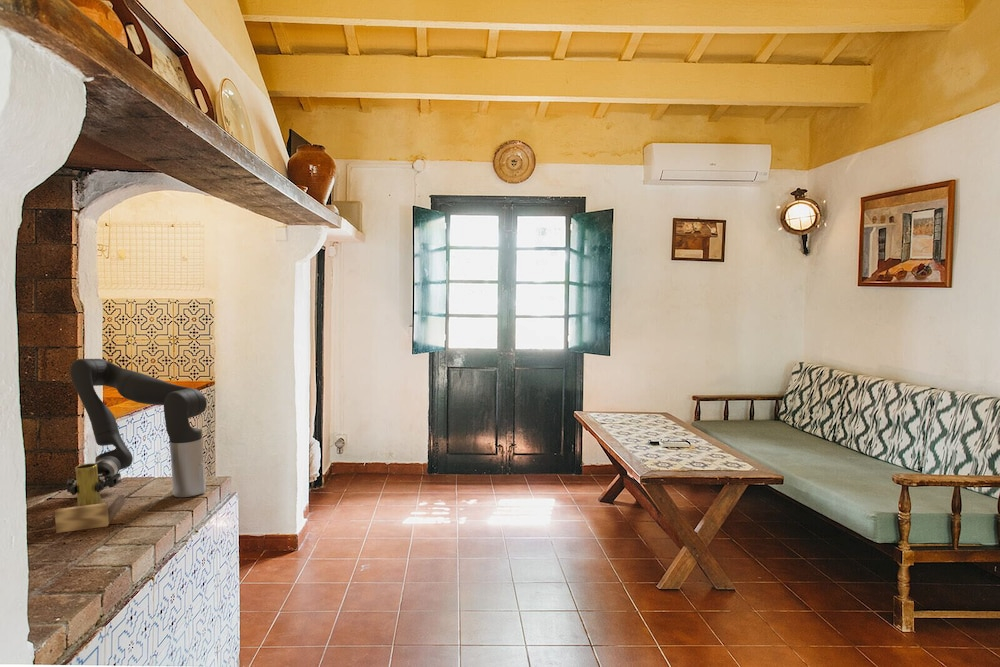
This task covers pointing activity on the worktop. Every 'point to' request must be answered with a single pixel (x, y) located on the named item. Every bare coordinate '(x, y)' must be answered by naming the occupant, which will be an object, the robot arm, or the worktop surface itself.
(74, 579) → the worktop surface
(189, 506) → the worktop surface
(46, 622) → the worktop surface
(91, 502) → the vase
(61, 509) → the track
